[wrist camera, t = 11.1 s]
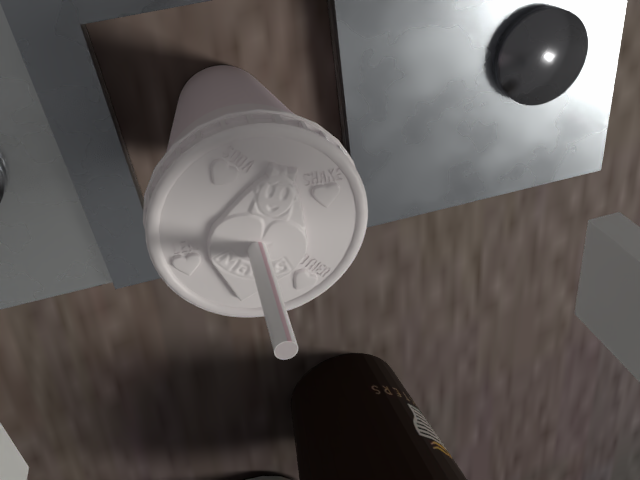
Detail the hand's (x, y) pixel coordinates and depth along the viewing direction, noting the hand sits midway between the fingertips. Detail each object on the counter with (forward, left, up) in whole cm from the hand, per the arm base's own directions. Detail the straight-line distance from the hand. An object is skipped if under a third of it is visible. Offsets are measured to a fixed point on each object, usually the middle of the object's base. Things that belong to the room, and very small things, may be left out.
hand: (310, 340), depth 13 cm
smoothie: (0, 0, -15) cm, 15 cm away
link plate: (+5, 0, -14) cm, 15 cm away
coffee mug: (+3, -20, -15) cm, 25 cm away
